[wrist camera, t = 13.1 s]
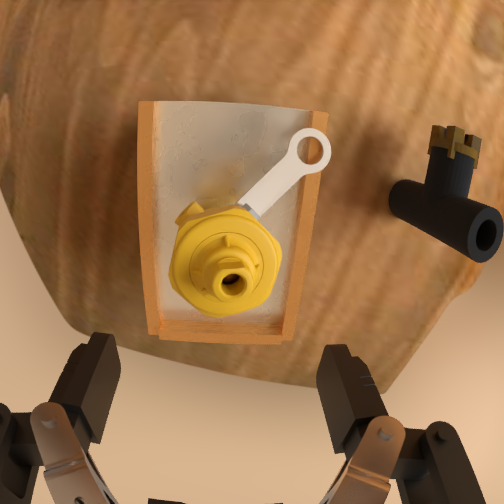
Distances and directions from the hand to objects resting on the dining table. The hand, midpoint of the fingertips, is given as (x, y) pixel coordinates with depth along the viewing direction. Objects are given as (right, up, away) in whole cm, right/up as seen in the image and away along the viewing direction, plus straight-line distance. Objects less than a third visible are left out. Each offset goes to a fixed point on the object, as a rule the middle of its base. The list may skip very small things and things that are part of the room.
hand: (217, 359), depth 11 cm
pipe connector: (+21, +14, +24) cm, 34 cm away
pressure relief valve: (+1, +8, +11) cm, 13 cm away
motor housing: (-1, +11, +23) cm, 26 cm away
